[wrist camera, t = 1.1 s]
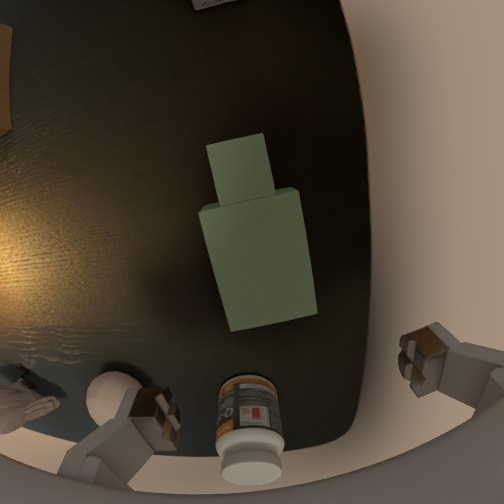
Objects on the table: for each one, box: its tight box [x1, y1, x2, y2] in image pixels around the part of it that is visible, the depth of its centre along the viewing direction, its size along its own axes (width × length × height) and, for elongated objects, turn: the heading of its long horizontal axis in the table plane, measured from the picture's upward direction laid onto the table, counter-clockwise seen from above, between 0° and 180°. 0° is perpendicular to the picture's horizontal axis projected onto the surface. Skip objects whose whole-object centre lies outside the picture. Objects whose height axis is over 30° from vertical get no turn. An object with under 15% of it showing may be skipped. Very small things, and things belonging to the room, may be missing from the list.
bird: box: [0, 363, 60, 434], centre depth 19 cm, size 5×14×15 cm, turn 80°
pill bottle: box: [216, 375, 284, 486], centre depth 22 cm, size 6×6×10 cm
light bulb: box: [86, 371, 144, 426], centre depth 24 cm, size 7×7×11 cm
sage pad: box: [198, 133, 317, 332], centre depth 20 cm, size 13×6×3 cm, turn 12°
